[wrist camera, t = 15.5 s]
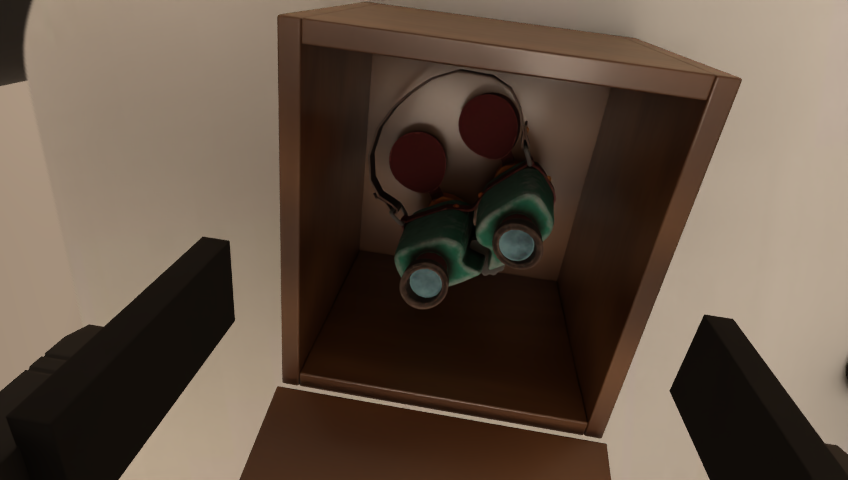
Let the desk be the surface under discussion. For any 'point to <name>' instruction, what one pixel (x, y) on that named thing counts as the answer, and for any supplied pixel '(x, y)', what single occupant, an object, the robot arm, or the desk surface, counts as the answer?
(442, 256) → the binoculars
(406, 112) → the chest
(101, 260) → the desk surface
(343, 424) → the lid
